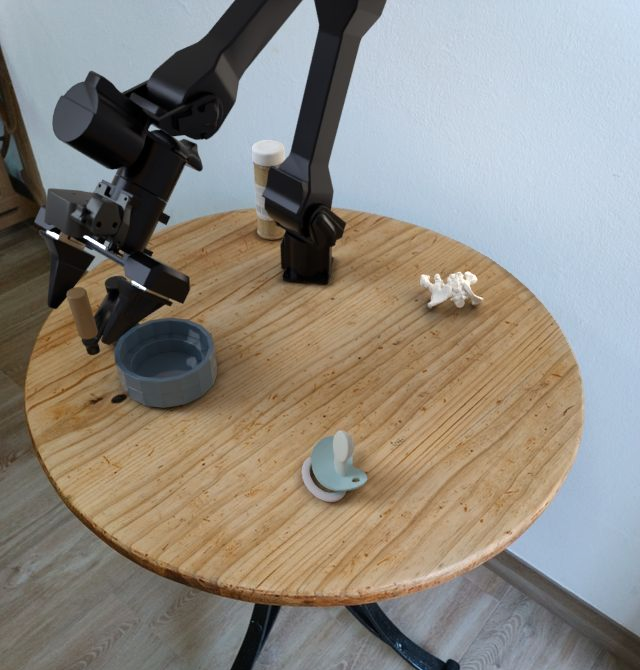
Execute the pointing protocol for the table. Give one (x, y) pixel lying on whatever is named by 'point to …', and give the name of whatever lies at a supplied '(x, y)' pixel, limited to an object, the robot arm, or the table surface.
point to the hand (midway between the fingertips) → (77, 325)
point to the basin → (166, 362)
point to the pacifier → (333, 467)
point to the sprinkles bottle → (263, 159)
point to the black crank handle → (82, 313)
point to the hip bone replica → (451, 289)
